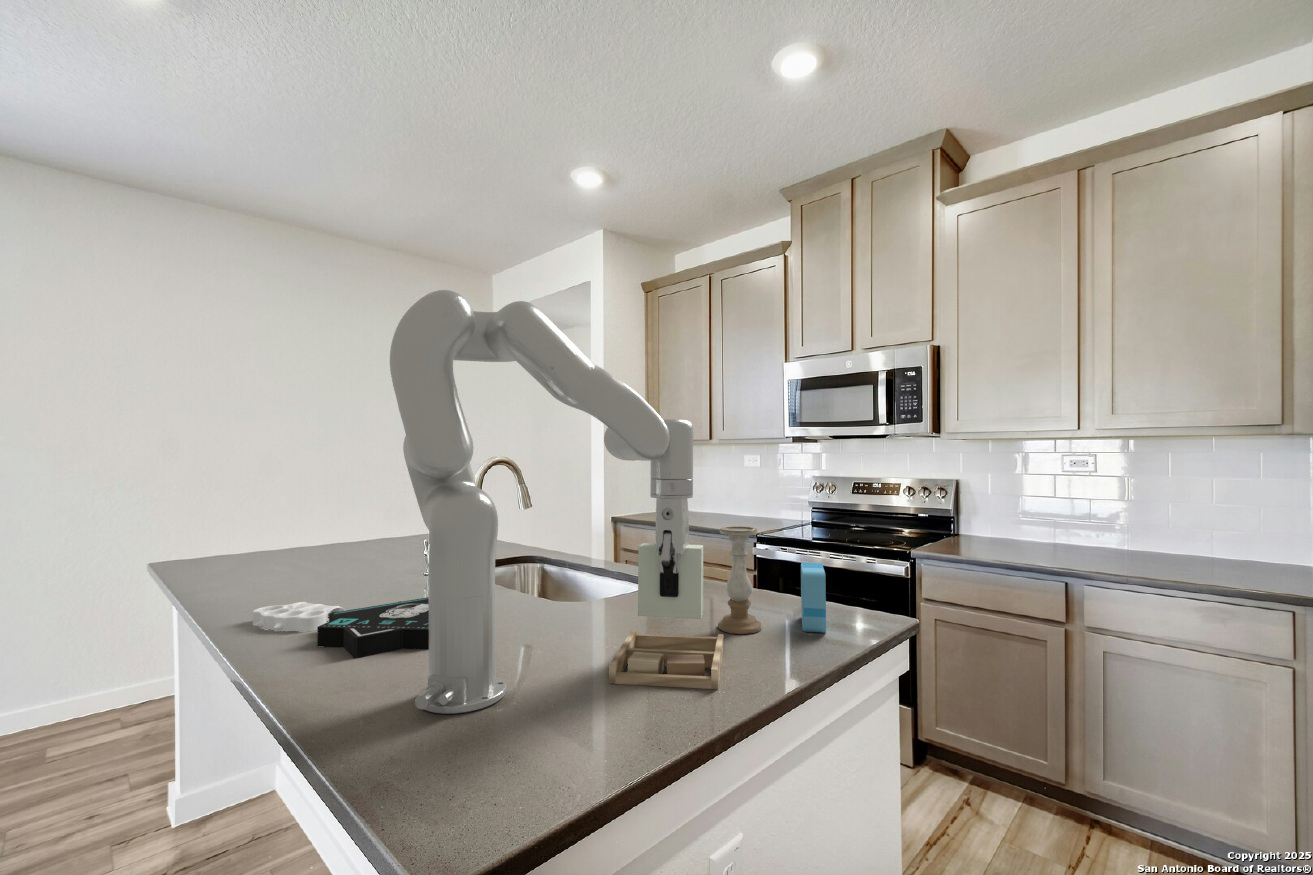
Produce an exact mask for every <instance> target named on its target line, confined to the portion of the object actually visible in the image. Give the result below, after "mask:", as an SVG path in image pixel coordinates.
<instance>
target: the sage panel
mask: <svg viewBox="0 0 1313 875" xmlns="http://www.w3.org/2000/svg"><path fill="white" fill-rule="evenodd" d="M637 548H638V549H637V550H638V555H637V557H638V560H637V562H638V563H637V564H638V567H637V568H638V570H637V572H638V573H637V580H638V581H637V584H638V585H637V616H638V617H650V618H651V617H653V618H672V619H675V618H676V619H691V620H692V619H693V620H694V619H695V620H702V617H703V614H704V544H703V545H702V544H689V545H688V546H687V547H686V554H685V555H684V556H680V554H677V573H679V594H678V597H661V596H660V568H661V555H660V556H659V555H658V554H657V553H656V543H651V542H649V543H647V542H645V543H644V542H643V543H640V544H639V545H638V546H637ZM659 550H661V547H659ZM660 554H661V553H660ZM670 555H675V552H672V551H671V554H670ZM671 560H673V561H674V559H671Z"/></svg>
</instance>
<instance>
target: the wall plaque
mask: <svg viewBox="0 0 1313 875" xmlns="http://www.w3.org/2000/svg"><path fill="white" fill-rule="evenodd" d="M328 619H329V622H326V623H325V624H323V625H320V626H318V627H317V633H316V634H317V635H316V637H317V642H316V644H317V646H324V647H323V648H341V647H342V648H344V650H345V651H346V652H347V653H348V655H349V654H350V656H351V657H352V658H353V659H361V658H366V657H372V656H375V655H380V654H386V653H389V652H390V653H391V652H394V651H399V650H426V651H427V650H428V651H429V596H427V597H421V598H416V599H411V600H404V601H398V602H397V601H396V602H393V603H392V602H391V603H386V604H379V605H372V606H365V607H361V608H360V607H359V608H352V609H348V610H345V611H341V612H334V613H330V614H329V618H328ZM317 646H316V647H317Z"/></svg>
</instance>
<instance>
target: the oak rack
mask: <svg viewBox="0 0 1313 875" xmlns="http://www.w3.org/2000/svg"><path fill="white" fill-rule="evenodd" d="M724 636H725V635H724V634H722V633H721V634H720V633H719V634H717V636H703V635H702V636H700V635H699V636H697V635H678V634H677V635H675V634H655V633H654V634H653V633H651V634H649V633H638V631H637V630H631V631H630V632H629V634H628V635H627V637H626V638H625V640H624V641H623V643H622V645H620V648H619V649H618V651H616V654H615V655H614V656H613V658H612V659H611V661H610V662H609V664H608V668H609V669H608V671H609V672H608V682H609V683H608V684H611V683H614V685H633V686H646V687H647V686H649V687H669V688H683V689H684V688H687V689H705V690H706V689H708V690H719V685H720V678H721V672H722V665H723V658H724V653H725V651H724V650H725V646H724V645H725V642H724V641H725V640H724V638H725V637H724ZM634 652H645V653H658V654H664V667H667V655H703V656H704V662H705V669H709V670H711V671H710V672H711V675H709V676H706V675H705V676H689V675H670V674H667V673H666V674H665V673H662V674H650V673H631V672H628V671H624V670H625V668H626V666H627V665H626V664H628V659H629V658H630V657H631V655H632V654H633V653H634Z"/></svg>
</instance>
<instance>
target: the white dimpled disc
mask: <svg viewBox="0 0 1313 875" xmlns="http://www.w3.org/2000/svg"><path fill="white" fill-rule="evenodd" d="M341 611H346V609H345V608H344V607H342V606H339V605H327V604H326V605H325V604H323V603H310V602H306V601H301V602H300V601H298V602H293V603H290V604H281V605H280V604H279V605H278V604H277V605H269V606H268V605H267V606H262V607H258V608H256V609H254V610H253V611H252V626H253V625H254V626H253V627H258V628H259V629H260V630H262V629H271V630H274V631H291V630H292V631H299V632H304V631H310V630H316V629H317V627H318V626H320V625H323V624H325V623H327V622H326V621H329V618H328V616H329V614H330V613H334V612H341ZM271 630H270V631H271ZM274 631H273V632H274ZM299 632H298V633H299ZM304 633H305V632H304Z"/></svg>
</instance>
